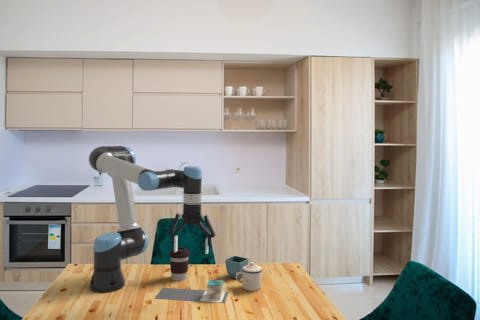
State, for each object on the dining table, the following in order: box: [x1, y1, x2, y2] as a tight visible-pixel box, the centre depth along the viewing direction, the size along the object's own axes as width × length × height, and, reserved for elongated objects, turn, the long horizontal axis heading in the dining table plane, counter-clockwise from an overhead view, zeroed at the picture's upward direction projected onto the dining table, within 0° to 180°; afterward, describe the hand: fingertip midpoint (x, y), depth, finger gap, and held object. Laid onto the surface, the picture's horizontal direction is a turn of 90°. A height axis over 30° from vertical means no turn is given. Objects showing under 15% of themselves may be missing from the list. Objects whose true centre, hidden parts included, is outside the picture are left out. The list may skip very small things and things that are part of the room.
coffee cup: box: [168, 246, 191, 282], centre depth 186 cm, size 10×10×15 cm
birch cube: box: [206, 279, 224, 300], centre depth 165 cm, size 6×6×6 cm
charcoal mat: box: [153, 287, 230, 304], centre depth 166 cm, size 30×12×1 cm, turn 84°
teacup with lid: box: [235, 261, 263, 292], centre depth 177 cm, size 12×9×12 cm
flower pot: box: [224, 255, 250, 280], centre depth 191 cm, size 9×9×9 cm
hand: (191, 252), depth 165 cm, fingers open, 13 cm apart
